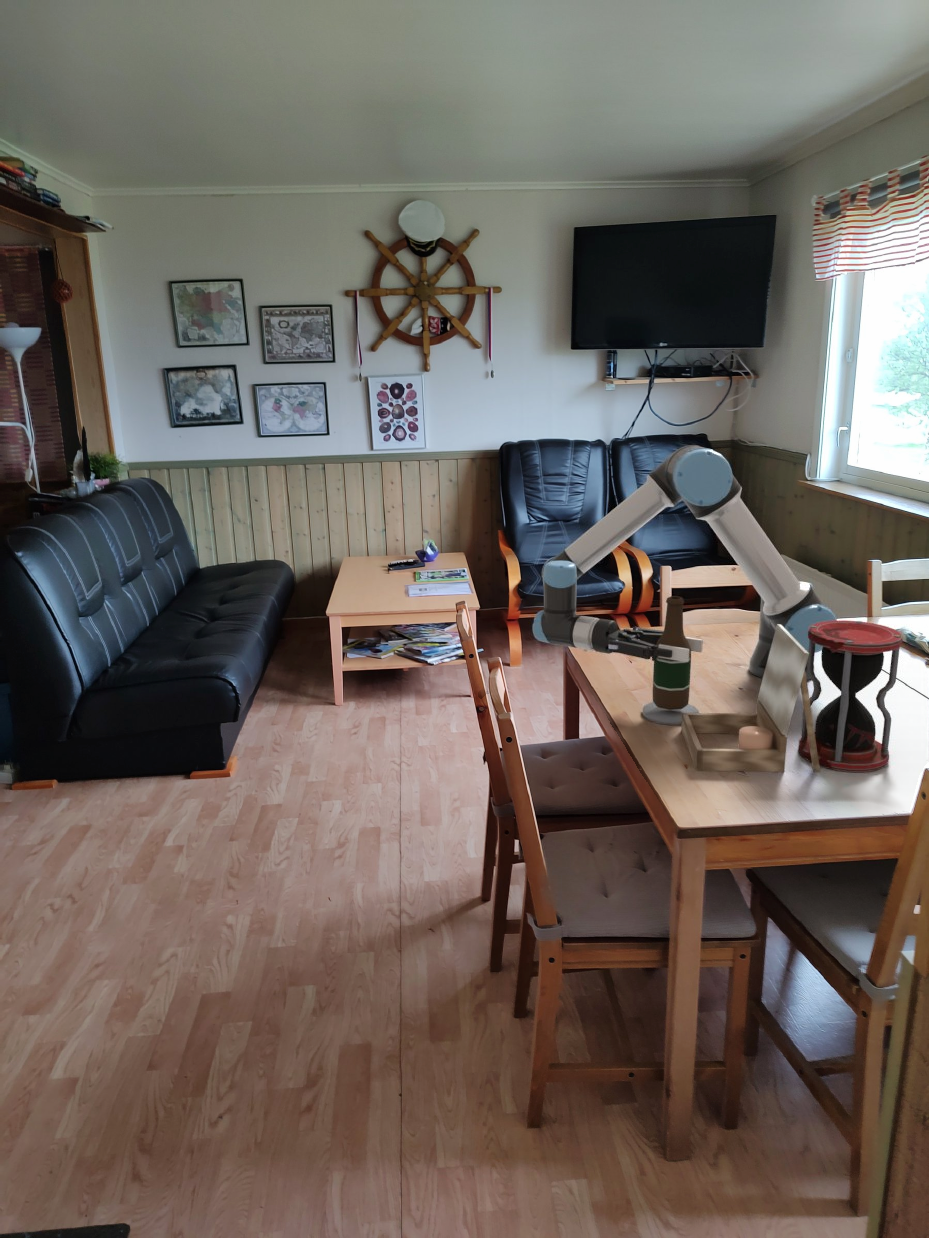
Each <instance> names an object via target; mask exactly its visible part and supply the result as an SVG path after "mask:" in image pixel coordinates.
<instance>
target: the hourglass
mask: <svg viewBox="0 0 929 1238" xmlns="http://www.w3.org/2000/svg"><path fill="white" fill-rule="evenodd" d="M808 638H809V650H808V653H809V656H808V661H807V672H808V676H809V677H810V679H809V680H811V681H812V685H813V691H812V695H811V696H809V699H810V705H811V706H812V705H813V703H814V702H816V701H817V700H818V699H819V698H820V696H821V694H822V691H823V690H822V685H821V682H820V680H819V679H818V678H817V677H816V674H815V670H814V671H813V667H814V668H815V656H816V655H815V654H816V653H815V643H816V644H818V645H820V646H823V648H822V651H821V653H820V655H821V656H820V657H821V658H820V659H821V667H822V669H823V672H824V674H825V675H826V676H827V678H828V679H829V681H831V682H832V683H833V685H835V687H836V688H837V690H839V692H840V695H838V696H837V697H835V698H834V699H833V700H832V701H830V702H829V703H828V704H827V705H825V706H824V707H823V708H822V709H821V710H820V712H819V713H818V714H817V716H816V720H815V723H814V733H815V739H816V746H817V753H818V760H819V766H820V767H823V768H826V769H830V770H834V771H840V772H849V773H869V772H874V771H878V770H880V769H883V768H885V767H886V766H887V764H889V760H890V751H889V742H890V735H891V727H892V717H891V713H890V712H889V710H888V709H887V707H886V704H885V698H886V696H887V693H888V692H889V691H890V690H891V689H892V688H893V687H894V686H895V684H896V681H897V674H898V666H899V665H898V664H899V658H900V657H899V655H900V649H901V646H903V635H902V633H901V632H900V631H898V630H896V629H895V628H892V627H889V626H886V625H882V624H878V623H874V622H866V621H863V620H862V621H861V620H846V619H845V620H842V619H841V620H837V621H824V622H819V623H815V624H813V625H811V626H810V627H809V628H808ZM886 652H891V657H890V667H889V676H888V681H887V682H886V683H885V686H883V687H882V688H880V689H879V690H878V693H877V694H876V697H875V700H876V706H877V708H878V709H879V711H880V712H881V713H882V717H883V719H884V720H883V730H882V739H881V742H880V741H877V740H876V734H877V733H876V721H875V720H874V718H873V715H872V714H871V713H870V711H869V710H868V709H867V707H866V706H865V705H864V704H863V703H862V702H861V701H860V700H859V699H858V698H857V697H856V696H857V694H858V693H859V692H861V691H862V690H864V689H865V688H866V687H868V686H869V685H870V684H871V683H873V682H874V681H875V680H876V679H877V678H878V676H879V675H880V674H881V672H882V671H883V670H882V669H883V665H884V661H885V655H884V653H886ZM801 721H802V724H801V732H800V733H801V735H800V738H799V739H798V749H797V750H798V753H799V754H800V755H801V756H802V758H804V759H805V760H807V761H808V762H810V763H812V760H811V753H810V746H809V740H808V733H807V726H806V720H805V713H804V708H803V711H802V720H801Z"/></svg>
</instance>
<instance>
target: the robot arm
mask: <svg viewBox="0 0 929 1238" xmlns="http://www.w3.org/2000/svg"><path fill="white" fill-rule="evenodd" d="M742 489H743V488H742V485H741V484H740V483H739V482H738V480H737V478H736V477H735V476H734V474H733V471H732V467H731V464H730V463H729V461H728V460H727V458H725V457H724V456H723V455H722V454H721V453H720V452H718V451H716V450H714V449H711V448H707V447H704V446H700V445H697V444H696V445H695V444H694V445H693V444H691V445H689V444H688V445H685V446H682V447H680V448H678V449H677V450H675V451H673V452H672V453H671V454H670V455H668V457H667V458H666V459H665V460H664V461H663V462H661V463H660V464H659V465H658V466H657V467H656V468H655V469H654V470H653V471H651V472H650V473H649V474H648V475H647V476H646V481H645V482H644V483H643V484H642V485H641V486H640V487H639V488H638V489H636V490H635V491H633V493H631V494H630V495H629V496H628V497H626V498H625V499H624V500H623V501H622V502H620V503H619V504H617V506H616V507H615V508H613V509H612V510H611V511H610V512H609V513H607V514H606V515H605V516H604V517H602V518H601V519H600V520H599V521H597V522H596V523H595V524H594V525H592V526H591V527H590V528H589V529H588V530H587V531H585V532H584V533H583V534H582V535H581V536H579V537H578V538H577V539H575V540H574V541H573V542H571V544H569V545H568V546H567V547H566V548H565V549H564V550H563V551H561V552H559V554H557V555H556V556H553V557H551V558H549V559H547V560H546V561H545V563H544V564H543V566H542V569H541V579H542V583H543V610H540V611H538V612H537V613H535V616H534V618H533V623H532V633H533V636H534V638H535V639H536V640H537V641H539V642H543V643H547V644H550V645H552V646H553V645H554V646H555V645H557V646H562V647H567V648H568V647H570V648H575V649H582V650H583V652H588V651H592V652H593V651H595V652H596V653H597V652H598V653H603V654H612V653H615V654H622V655H626V656H631V657H636V658H638V659H639V658H640V659H644V660H651V661H652V662H654V661H657V656H658V657H659V658H665V659H671V660H677V661H683V662H689V649H686V648H680V647H674V646H668V645H662V644H659V645H658V648H657V645H656V644H657V641H658V640H659V638H660V637H661V636H662V634H663V632H664V630H660V629H651V628H644V627H643V628H642V627H639V626H633V627H632V629H631V628H623V629H620V626H619V624H618V623H617V622H616V621H615V620H612V619H611V620H610V619H604V618H598V617H593V616H585V615H578V614H577V582H578V581H577V580H578V579H579V578H581V577H582V576H583V575H584V574H585V573H587V571H589V570H590V569H592V568H593V567H594V566H595V565H596V564H597V563H599V562H600V561H601V560H603V559H604V558H605V557H606V556H607V555H609V554H610V553H612V552H613V551H614V550H615V549H616V548H617V547H618V546H620V545H621V544H623V543H624V542H625V541H626V540H627V539H629V538H630V537H631V536H633V534H635V533H636V532H637V531H639V530H640V529H641V528H642V527H644V526H645V525H646V524H647V523H648V522H650V521H652V519H654V518H655V517H656V516H657V515H658V514H659V513H661V512H662V511H663V510H665V509H666V508H668V507H670V508H675V506H676V505H678V504H679V503H680V502H681V501H683V503H684V504H685V505H686V506H687V508H688V509H689V510H690V511H691V513H692V514H693V516H694V517H695V519H696V520H702V521H705V522H706V523H707V524H709V526H710V528H711V529H712V530H713V532H714V533H715V534H716V536H717V537H718V539H719V540H720V542H721V543H722V545H723V546H724V547H725V548H726V550H727V551H728V553H729V554H730V556H731V557H732V558H733V560H734V561H735V563H736V564H737V565H738V568H740V570H741V572H743V574H744V575H745V576H746V578H747V580H748V581H749V582H750V584H751V585H752V586H753V588H754V590H755V591H756V592H757V593H758V595H759V596H760V612H759V627H758V639H757V643H756V645H755V648H754V650H753V653H752V655H751V656H750V659H749V665H748V666H749V668H748V670H749V672H750V673H751V674H752V675H754V676H755V677H758V678H761V679H763V676H764V672H765V668H766V664H767V661H768V657H769V653H770V649H771V645H772V642H773V638H774V634H775V630H776V626H777V624H780V625H782V626H783V627H784V628H785V629H786V630H787V631H788V632H789V633H790V634H791V635H792V636H793V637H794V638H795V639H796V640H797V641H798V643H799V644H800V645H801V646H802V647H803V648H804V649H805V650H806V651H807V652H808V650H809V638H808V628H809V627H810V626H811V625H813V624H815V623H819V622H824V621H838V620H837V618H836V615H835V614H834V612H833V610H832V609H830V608H829V607H828V606H826V605H825V604H824V603H823V602H822V600H821V598H820V597H819V596H818V594H817V593H816V592H815V590H814V585H813V584H812V583H811V582H808V581H807V582H805V581H801V580H800V581H799V580H798V579H797V577H796V576H795V575H794V573H793V570H792V569H791V568H790V567H789V566H788V564H787V563H786V561H785V560H784V559H783V557H782V555H781V553H779V551H778V549H776V547H775V546H774V544H773V543H772V541H771V540H770V538H769V537H768V536H767V534H766V532H765V531H764V529H763V528H762V527H761V526H760V524H759V523H758V521H757V520H756V518H755V517H754V516H753V514H752V513H751V511H750V510H749V508H748V507H747V506H746V504H745V503H744V501H743V499H742V498H741V494H742ZM685 637H686V639H687V640H688V642H689V645H690V648H691V652H697V653H702V652H703V645H704V642H703V641H704V639H701V638H695V637H688V636H685ZM822 648H823V646H820V645H818V644H816V643H815V654H816V653H819V652H822ZM807 661H808V660H807ZM813 671H814V672H815V666H814V667H813ZM805 672H806V678H807V681H808V680H811V679H810V677H809V676H808V672H807V663H806V667H805Z"/></svg>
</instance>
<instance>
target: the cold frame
mask: <svg viewBox="0 0 929 1238" xmlns="http://www.w3.org/2000/svg"><path fill="white" fill-rule="evenodd" d="M808 656H809V653H808V652H807V651H806V650H805V649H804V648H803V647H802V646H801V645H800V644H799V643H798V641H797V640H796V639H795V638H794V637H793V636H792V635H791V634H790V633H789V632H788V631H787V630H786V629H785V628H784V627H783V626H782V625H780V624H777V626H776V630H775V634H774V638H773V642H772V645H771V649H770V653H769V657H768V661H767V664H766V668H765V672H764V676H763V678H762V679H761V685H760V688H759V691H758V697H757V700H756V709H755V710H756V711H755V713H738V712H737V713H735V712H734V713H730V712H729V713H727V712H725V713H724V712H723V713H720V712H719V713H718V712H717V713H716V712H714V713H712V712H711V713H710V712H699V713H682V725H680V726H681V727H680V728H681V729H680V731H681V734H682V737H683V739H684V741H685V744H686V747H687V749H688V752H689V755H690V757H691V760H692V761H693V762H692V763H693V765H694V768H695V771H709V772H710V771H714V772H715V771H718V772H719V771H721V772H725V771H726V772H728V771H729V772H773V773H775V772H777V773H778V772H779V773H780V772H782V773H784V772H785V769H786V768H785V767H786V765H785V764H786V754H787V745H788V741H787V740H788V736H787V735H788V731H789V728H790V725H791V720H792V717H793V714H794V710H795V706H796V702H797V699H798V696H799V692H801V697H802V703H803V709H804V713H805V720H806V726H807V733H808V740H809V746H810V753H811V760H812V762H811V767H812V771H813V772H815V773H820V772H821V768H820V767H821V766H819V760H818V753H817V746H816V739H815V733H814V732H815V725H814V719H813V713H812V705H810V699H809V698H810V694H809V693H810V691H809V685H808V680H807V678H806V672H805V667H806V663H807V660H808ZM747 726H757V727H762V728H766V729H768V730H770V731H771V732H772V733H773V736H772V749H738V748H702V746H701V745H702V744H701V743H700V741H699V738H698V735H697V734H739V730H740V729H741V728H743V727H747Z"/></svg>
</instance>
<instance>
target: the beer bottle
mask: <svg viewBox="0 0 929 1238" xmlns="http://www.w3.org/2000/svg"><path fill="white" fill-rule="evenodd" d="M665 602H666V605H667V606H666V610H665V611H666V613H665V614H666V615H665V621H664V629H663V631H664V632H663V634H662V636H661V637H660V638H659V640H658V641H657V644H656V645H657V648H658V645H659V644H662V645H668V646H674V647H680V648H686V649H689V662H683V661H677V660H671V659H665V658H659V657H658V656H657V661H653V673H652V674H653V675H652V677H653V678H652V702H654V704H655V705H656V706H657V707H660V708H664V709H668V710H675V709H682V708H684V707H686V706H687V705H688V704H689V700H690V691H691V690H690V688H691V686H690V685H691V667H692V651H691V648H690V645H689V642H688V640H687V639H686V637H687V636H685V634H684V633H685V631H684V613H683V611H684V609H683V605H684V604H685V600H684V598H683V597H682V596H677V595H674V596H673V595H672V596H671V595H670V596H669V597H668V596H667V598H666V600H665Z"/></svg>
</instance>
